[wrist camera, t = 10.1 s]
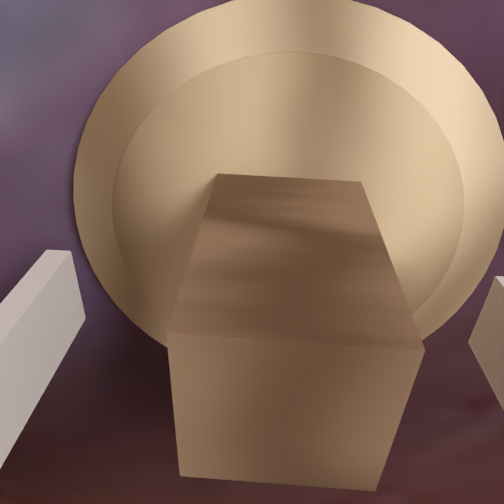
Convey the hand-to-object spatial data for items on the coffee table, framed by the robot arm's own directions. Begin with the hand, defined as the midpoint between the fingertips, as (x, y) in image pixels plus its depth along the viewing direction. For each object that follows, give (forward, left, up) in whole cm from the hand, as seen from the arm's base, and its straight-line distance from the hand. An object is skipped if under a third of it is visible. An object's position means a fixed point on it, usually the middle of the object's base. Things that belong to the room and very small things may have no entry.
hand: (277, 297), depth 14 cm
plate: (0, 0, -4) cm, 4 cm away
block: (0, 0, -3) cm, 3 cm away
